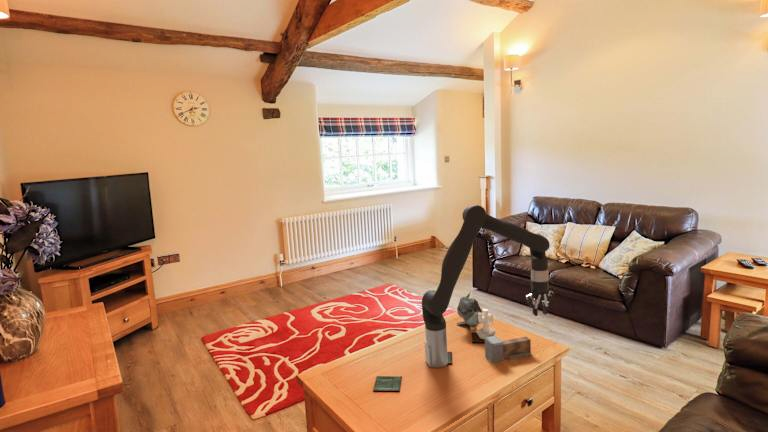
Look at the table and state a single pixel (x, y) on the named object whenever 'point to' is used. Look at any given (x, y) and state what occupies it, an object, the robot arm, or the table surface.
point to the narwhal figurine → (469, 312)
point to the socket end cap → (494, 349)
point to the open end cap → (519, 355)
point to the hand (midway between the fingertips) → (540, 314)
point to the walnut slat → (516, 346)
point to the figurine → (485, 324)
